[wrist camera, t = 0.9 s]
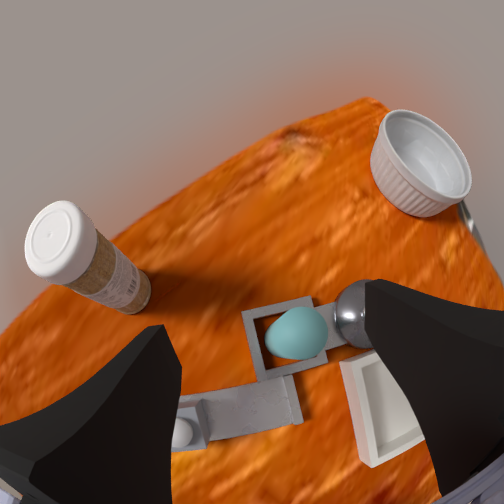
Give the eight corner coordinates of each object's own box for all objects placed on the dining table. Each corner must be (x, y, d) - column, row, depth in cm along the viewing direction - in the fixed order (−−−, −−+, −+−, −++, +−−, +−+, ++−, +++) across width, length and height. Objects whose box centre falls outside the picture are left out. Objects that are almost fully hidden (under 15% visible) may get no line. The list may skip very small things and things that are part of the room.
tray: (442, 413, 21) (458, 416, 18) (359, 459, 19) (371, 468, 17) (426, 325, 24) (442, 321, 22) (338, 361, 23) (350, 362, 20)
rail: (300, 419, 21) (303, 422, 20) (144, 445, 19) (140, 448, 18) (289, 373, 23) (292, 374, 21) (131, 400, 21) (127, 402, 20)
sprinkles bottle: (121, 262, 25) (46, 190, 13) (160, 278, 25) (96, 208, 12) (103, 304, 24) (11, 258, 11) (142, 323, 23) (58, 289, 11)
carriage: (210, 435, 20) (205, 452, 16) (171, 440, 19) (159, 456, 15) (200, 399, 21) (192, 408, 17) (161, 404, 20) (146, 413, 16)
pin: (305, 352, 23) (333, 350, 16) (269, 361, 23) (282, 365, 16) (296, 316, 24) (320, 301, 17) (260, 325, 24) (269, 313, 17)
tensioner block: (396, 336, 24) (409, 334, 22) (257, 381, 22) (259, 384, 20) (379, 277, 26) (390, 270, 24) (240, 312, 24) (241, 308, 22)
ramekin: (422, 147, 34) (443, 118, 27) (455, 225, 29) (487, 200, 23) (348, 139, 33) (366, 101, 26) (380, 229, 28) (411, 197, 22)
